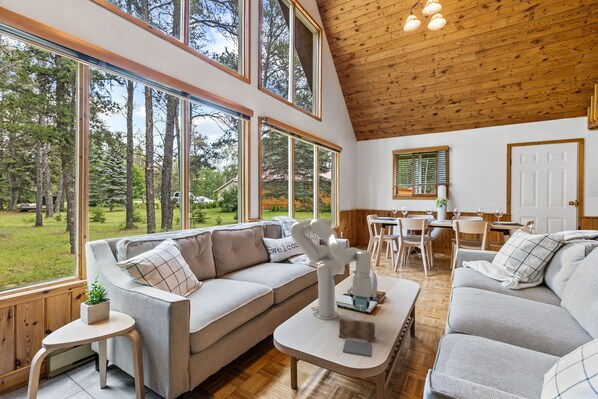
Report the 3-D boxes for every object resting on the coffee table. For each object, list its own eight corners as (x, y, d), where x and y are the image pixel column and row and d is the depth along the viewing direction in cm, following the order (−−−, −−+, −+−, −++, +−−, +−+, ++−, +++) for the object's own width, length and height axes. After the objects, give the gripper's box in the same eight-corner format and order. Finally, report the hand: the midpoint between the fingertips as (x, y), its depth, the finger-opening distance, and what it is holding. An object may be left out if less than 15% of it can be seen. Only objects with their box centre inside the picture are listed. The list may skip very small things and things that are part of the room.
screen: (338, 337, 137) (338, 321, 136) (340, 331, 142) (340, 316, 142) (374, 342, 132) (374, 326, 132) (374, 336, 138) (375, 320, 137)
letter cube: (354, 309, 146) (355, 298, 146) (355, 305, 152) (356, 294, 152) (366, 311, 145) (366, 300, 144) (366, 306, 150) (367, 296, 150)
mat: (342, 352, 124) (342, 350, 124) (345, 340, 134) (345, 339, 134) (370, 356, 121) (370, 355, 121) (371, 344, 130) (371, 343, 130)
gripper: (345, 274, 146) (343, 307, 147) (379, 278, 141) (377, 313, 142) (347, 270, 153) (345, 301, 154) (379, 274, 149) (377, 306, 150)
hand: (360, 306), depth 148 cm, fingers closed on letter cube, 6 cm apart
